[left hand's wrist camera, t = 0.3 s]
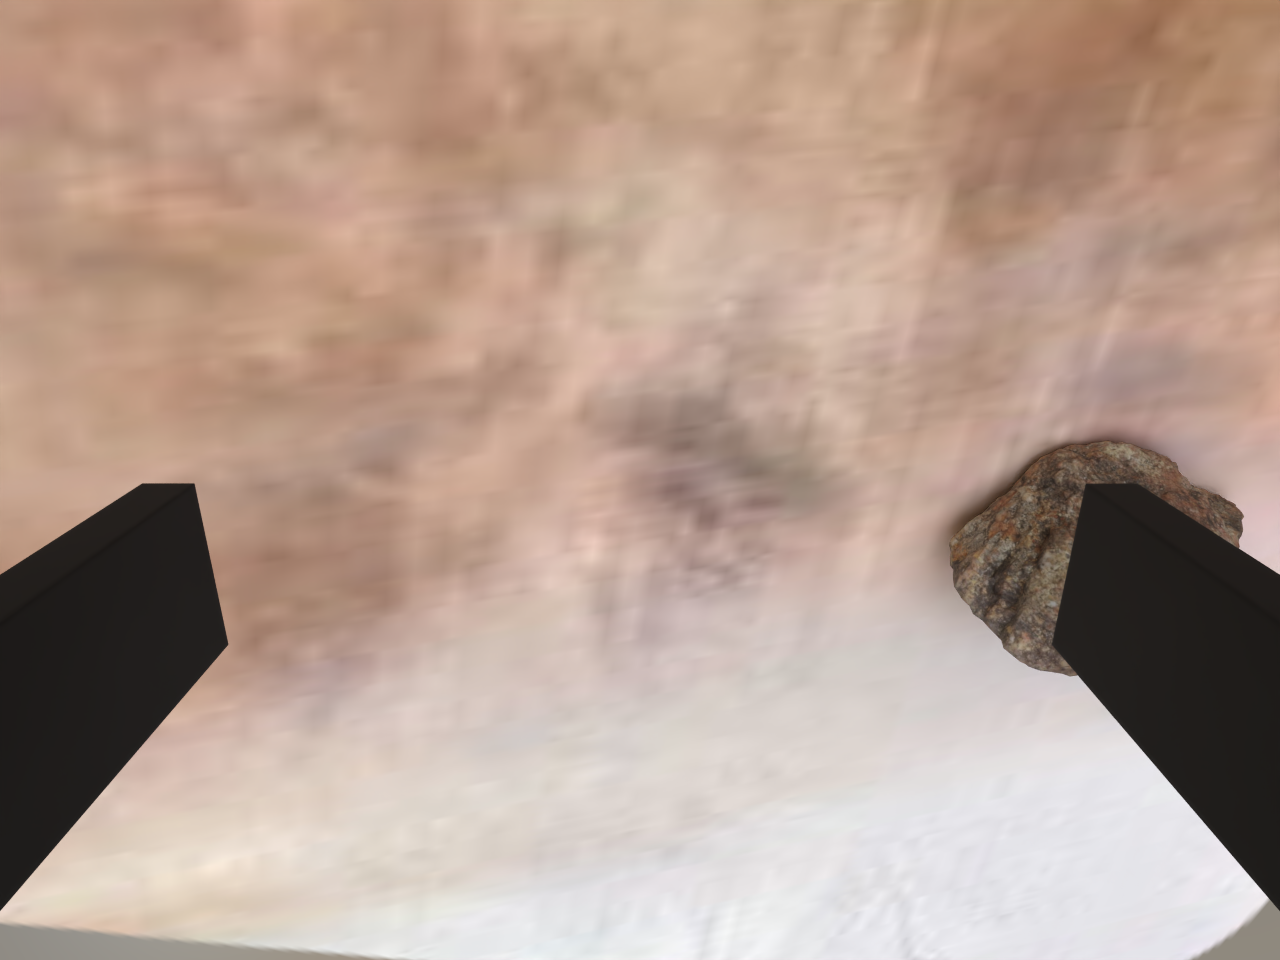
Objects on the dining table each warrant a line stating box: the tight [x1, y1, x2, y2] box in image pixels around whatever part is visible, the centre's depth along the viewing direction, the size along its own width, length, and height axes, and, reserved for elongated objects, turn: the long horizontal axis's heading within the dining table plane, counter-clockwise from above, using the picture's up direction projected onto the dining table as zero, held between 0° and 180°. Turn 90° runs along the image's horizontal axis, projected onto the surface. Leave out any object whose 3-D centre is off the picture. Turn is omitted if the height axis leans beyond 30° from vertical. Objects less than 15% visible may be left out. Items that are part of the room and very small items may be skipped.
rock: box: [949, 441, 1244, 676], centre depth 39 cm, size 14×9×10 cm
